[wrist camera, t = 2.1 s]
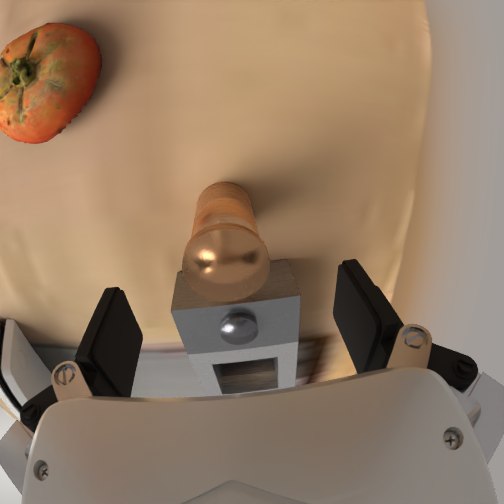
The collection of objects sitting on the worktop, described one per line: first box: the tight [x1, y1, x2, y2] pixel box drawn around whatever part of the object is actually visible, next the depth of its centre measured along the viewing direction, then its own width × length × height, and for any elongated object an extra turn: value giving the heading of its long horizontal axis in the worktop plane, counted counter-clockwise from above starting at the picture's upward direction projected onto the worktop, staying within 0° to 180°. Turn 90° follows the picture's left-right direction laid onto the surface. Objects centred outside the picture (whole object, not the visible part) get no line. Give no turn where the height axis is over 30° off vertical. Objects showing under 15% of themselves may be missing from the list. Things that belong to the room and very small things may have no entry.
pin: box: [182, 182, 270, 302], centre depth 15 cm, size 4×4×7 cm
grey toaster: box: [0, 319, 52, 419], centre depth 22 cm, size 17×5×10 cm, turn 179°
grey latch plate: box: [171, 259, 301, 397], centre depth 23 cm, size 17×8×5 cm, turn 5°
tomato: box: [0, 23, 102, 144], centre depth 10 cm, size 8×7×7 cm
